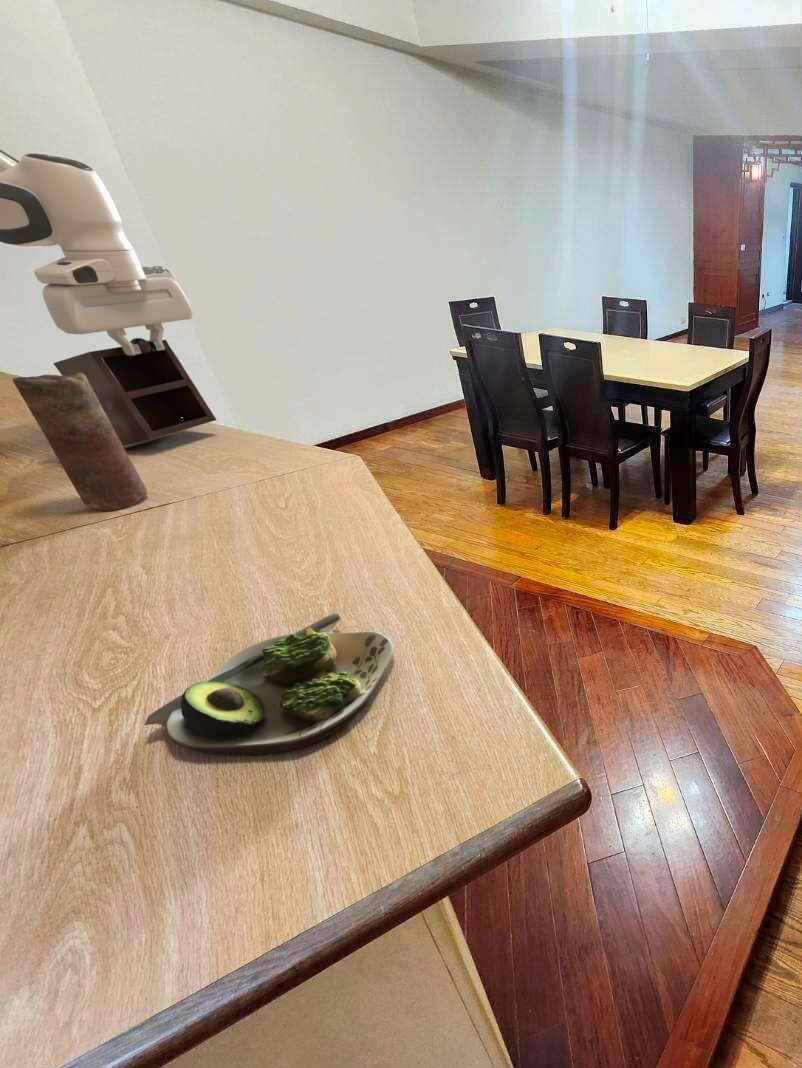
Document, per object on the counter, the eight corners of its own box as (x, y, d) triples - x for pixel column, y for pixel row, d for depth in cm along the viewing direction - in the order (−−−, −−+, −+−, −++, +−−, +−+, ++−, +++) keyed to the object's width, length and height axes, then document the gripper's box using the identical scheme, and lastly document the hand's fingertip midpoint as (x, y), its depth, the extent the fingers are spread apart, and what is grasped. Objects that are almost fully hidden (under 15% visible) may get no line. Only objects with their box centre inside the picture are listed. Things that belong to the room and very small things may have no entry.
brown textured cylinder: (72, 508, 91) (-4, 377, 81) (125, 490, 97) (61, 366, 87) (110, 515, 89) (38, 382, 80) (161, 496, 96) (100, 371, 86)
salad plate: (267, 626, 68) (252, 593, 66) (426, 626, 69) (417, 594, 67) (125, 760, 51) (98, 722, 49) (338, 757, 52) (322, 720, 50)
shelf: (49, 358, 104) (100, 342, 100) (128, 345, 115) (177, 331, 112) (114, 448, 112) (164, 436, 108) (183, 428, 123) (230, 416, 119)
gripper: (155, 264, 110) (188, 341, 117) (20, 272, 93) (67, 362, 99) (183, 266, 109) (214, 343, 116) (52, 274, 92) (98, 365, 98)
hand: (146, 352), depth 107 cm, fingers closed on shelf, 3 cm apart
